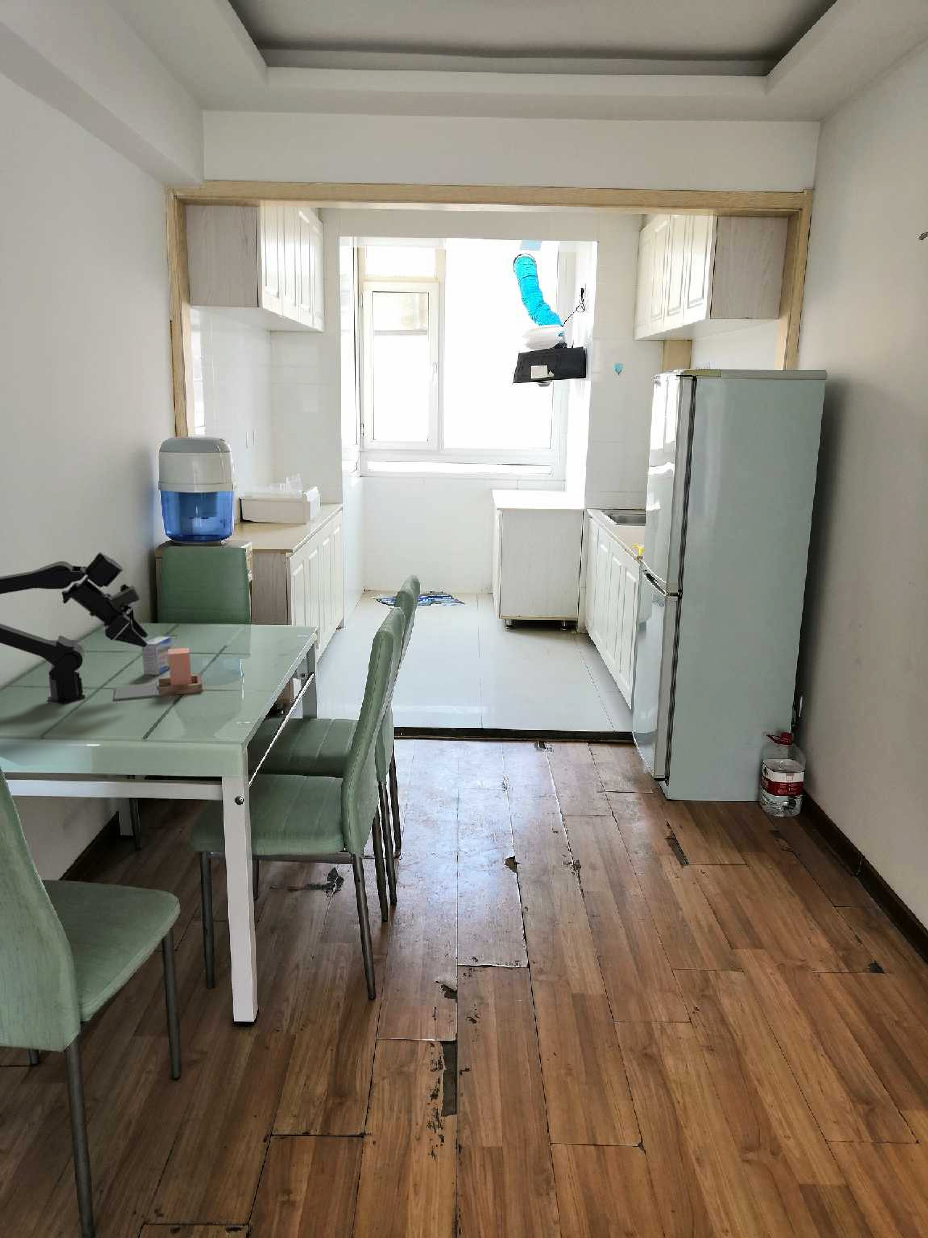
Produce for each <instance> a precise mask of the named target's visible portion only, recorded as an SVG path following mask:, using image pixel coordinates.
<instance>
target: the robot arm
mask: <svg viewBox="0 0 928 1238" xmlns="http://www.w3.org/2000/svg"><path fill="white" fill-rule="evenodd" d="M123 571H124V568H123V567H122V566H121V565H120V564H119V563H118V562H117V561H116V560H114V558H110V557H109V556H107V555H106V554H104V553H102V551H99V553H97V554H96V556H95V557H94V559H92V561H91V562H90V563H89V564H88V565H87V566H81V565H80V566H79V565H72V564H70V563H69V562H67V561H63V560H60V561H56V562H53V563H50V564H48V565H44V566H42V567H39V568H38V569H35V570H32V571H26V572H20V573H14V574H8V575H3V576H0V595H3V594H9V593H15V592H20V591H21V592H22V591H25V590H27V591H28V590H32V589H40V590H41V589H42V590H62V592H61V595H62V596H61V597H62V603H63V604H64V605H65V604H67V603H68V602H69V601H70V600H71V599H72V600H73V601H74V602H76V603H77V604H78V605H80V606H81V607H82V608H84V610H86V611H87V612H89V615H90V616H91V617H92V618H93V617H95V618H96V619H98V620H99V621H101V623H103V626H104V627H105V629H104V632H105V634H104V635H105V637H107V638H108V639H109V640H111V641H115V642H123V643H126V644H130V645H134V646H137V647H138V646H139V647H141V648H142V647H145V646H146V645H147V643H146V642H147V641H145V640H144V639H146V638H147V637H148V636H149V634H148V633H147V631H146V630H145V629H144V628H143V626H142V625H141V624H140V623H139V622H138V620H137V619H136V618H135V612H134V611H135V609H134V607H133V605H132V603H137V601H139V600H140V599H141V595H140V594H139V592H138V590H137V588H136V587H135V586H134V585H133V584H132V585H129V584H127V583H124V584H122V585H120V588H119V590H120V591H118V592H117V593H116V594H114V595H112V594H111V593H110V592H106V593H105V592H104V591H103V590H101V589H100V588H103V587H105V588H108V587H110V585H111V584H112V583H113V582H114V581H115V580H116V578H117V577H119V575H120V574H121V573H122V572H123ZM85 576H86V577H85ZM84 577H85V578H84ZM83 578H84V579H83ZM82 579H83V580H82ZM79 581H80V583H79ZM72 583H73V584H72ZM70 585H71V586H70ZM67 588H69V589H67ZM64 589H67V590H64ZM143 638H144V639H143ZM0 644H1V645H5V646H8V647H11V648H14V649H17V650H20V651H23V652H26V653H29V654H31V655H35V656H38V657H40V658H43V659H44V660H45V661H46V662H48V663H49V664H50V665H51V667H50V668H49V671H48V679H49V690H50V696H47V699H48V700H49V701H52V702H54V703H57V704H60V705H63V704H67V703H71V702H75V701H79V700H81V699H85V698H86V695H85V694H83V693H84V688H83V679H82V677H81V676H80V675H81V674H80V672H78V670H79V669H80V668H81V667H82V665H83V662H84V658H85V655H86V654H85V650H84V648H83V646H82V645H81V644H80V643H77V640H76V639H75V640H74V639H68V638H67V637H65V636H63V635H59V636H58V639H57V640H55V639H54V640H53V639H46V638H44V637H40V636H39V635H35V634H32V633H28V632H27V631H24V630H21V629H18V628H14V627H12V626H8V625H5V624H2V623H0ZM48 700H47V701H48Z"/></svg>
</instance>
